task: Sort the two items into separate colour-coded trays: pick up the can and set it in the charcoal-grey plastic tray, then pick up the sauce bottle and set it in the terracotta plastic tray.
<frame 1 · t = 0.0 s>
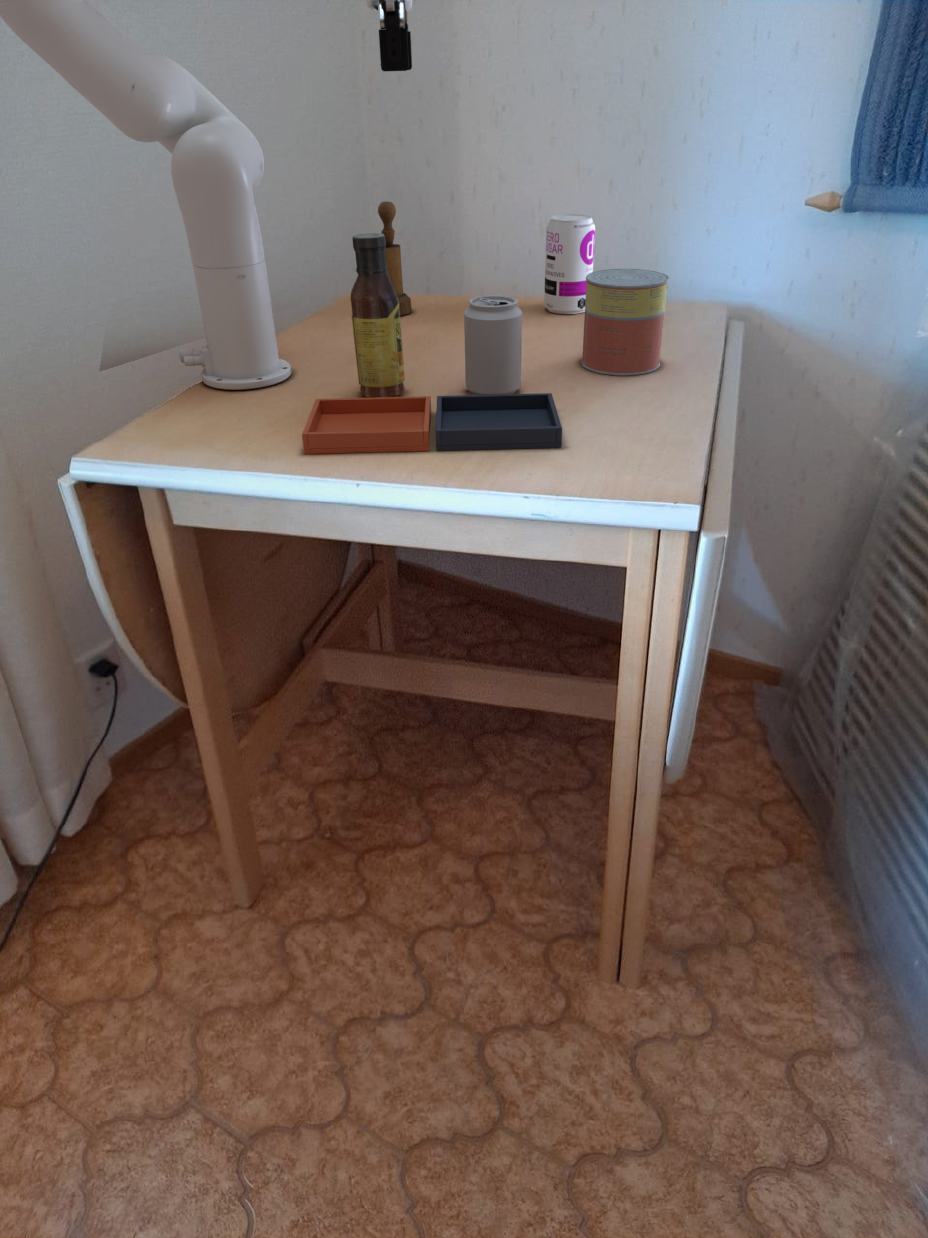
hand: (397, 70, 104), 37 cm above the table, tool pointing down, fingers open, 9 cm apart
terracotta tray: (371, 433, 104), on the table
charcoal tray: (496, 430, 104), on the table
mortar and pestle: (393, 313, 154), on the table
can: (493, 392, 117), on the table
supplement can: (567, 310, 154), on the table
sauce bottle: (382, 395, 117), on the table
canned food: (620, 365, 126), on the table
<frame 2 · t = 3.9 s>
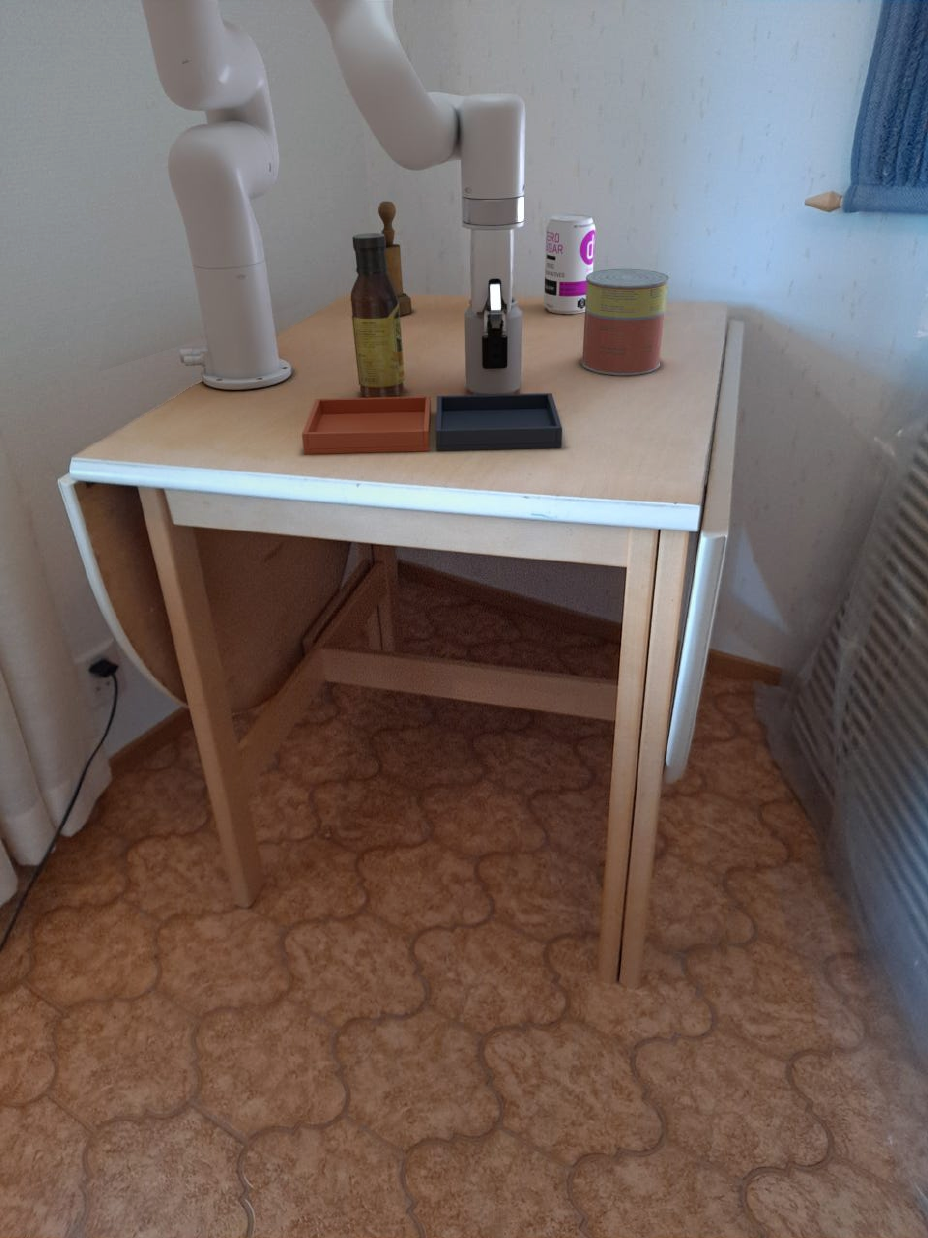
hand: (493, 357, 114), 5 cm above the table, tool pointing down, fingers closed on can, 7 cm apart
can: (493, 392, 117), on the table, touching gripper
everything else where it was.
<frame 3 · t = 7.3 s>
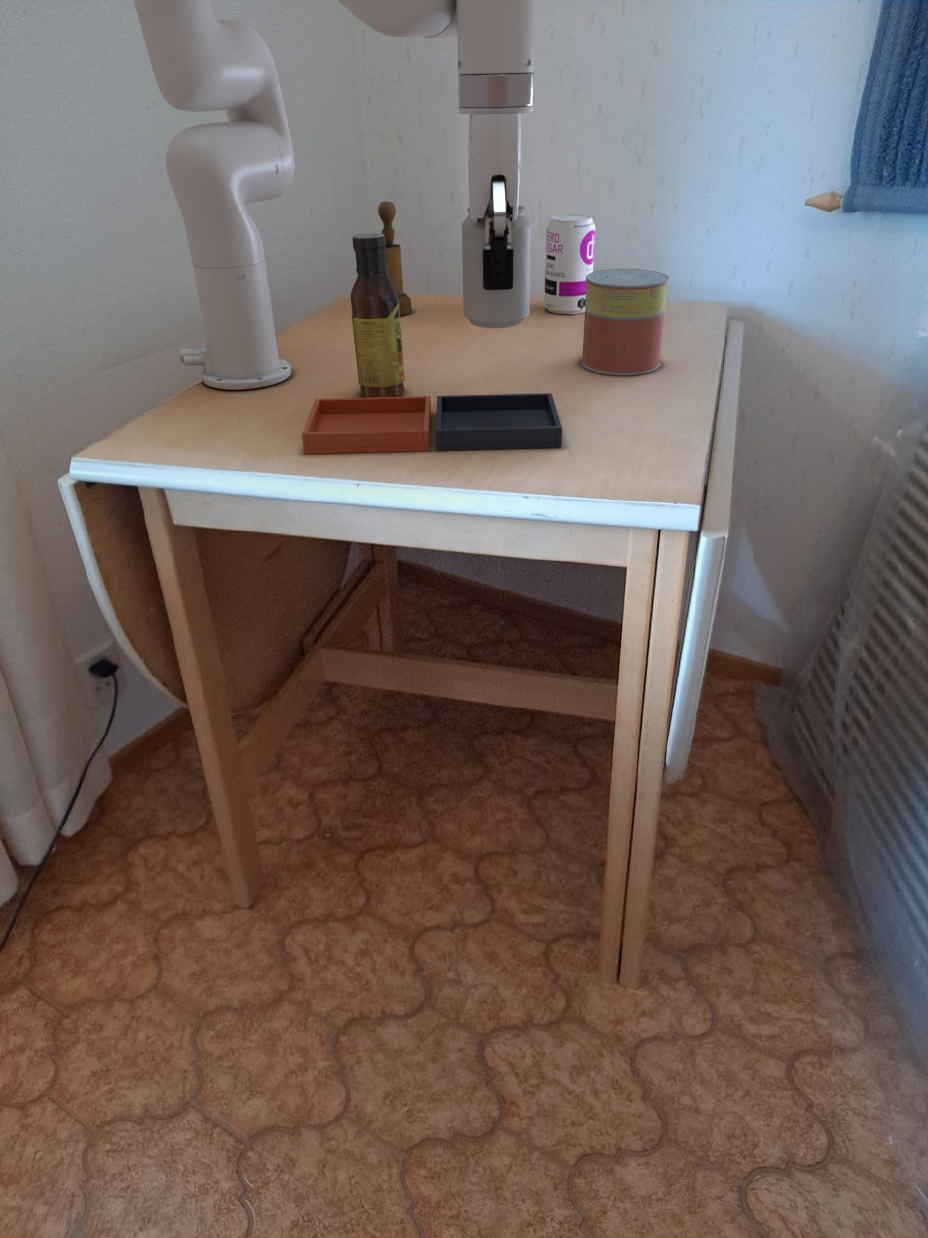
hand: (496, 279, 96), 17 cm above the table, tool pointing down, fingers closed on can, 7 cm apart
can: (496, 323, 99), point 12 cm above the table, touching gripper
everything else where it was.
when the fingers open (5 cm above the table, at t = 10.6 s): can stays where it is, resting on charcoal tray.
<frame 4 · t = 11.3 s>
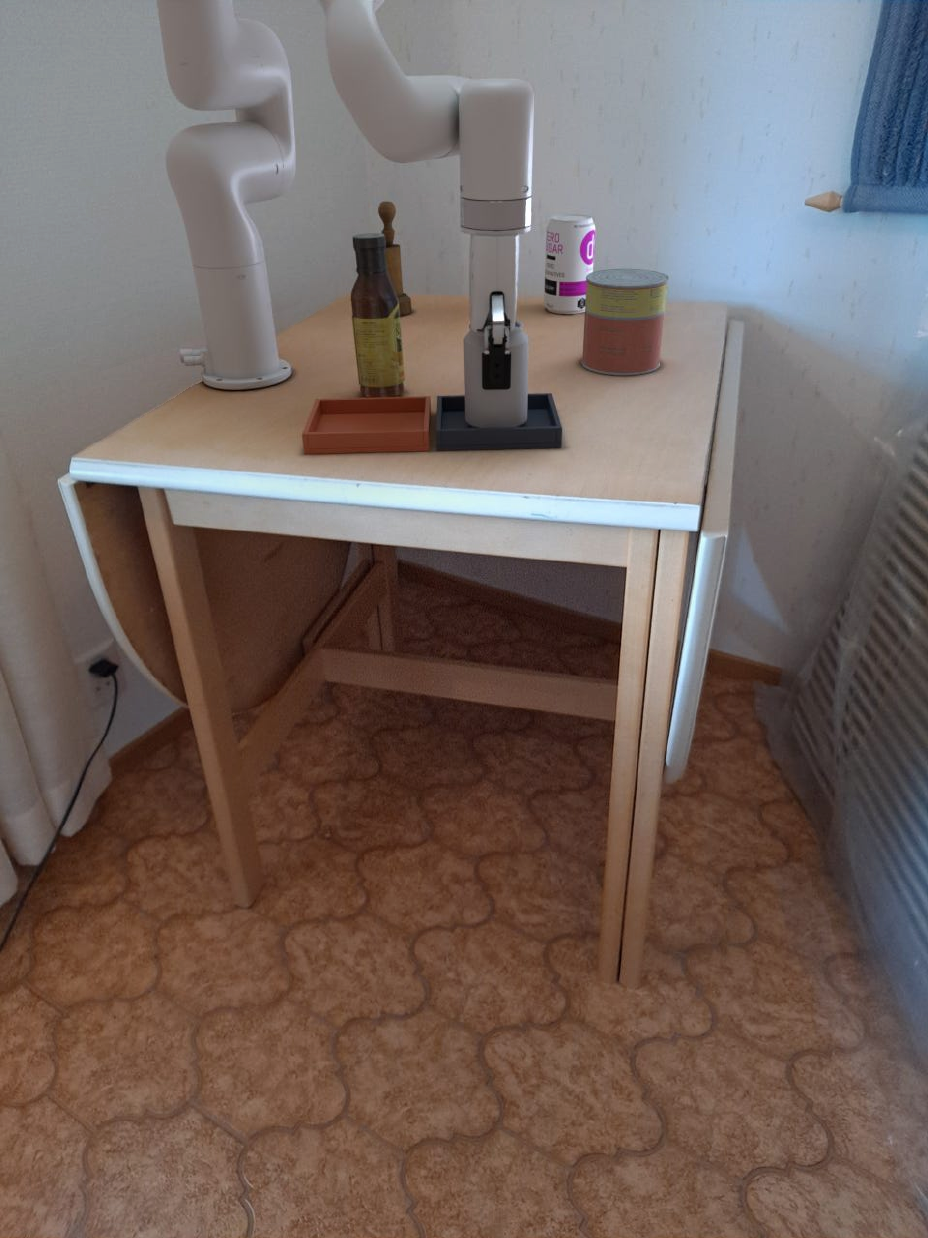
hand: (494, 375, 101), 7 cm above the table, tool pointing down, fingers open, 9 cm apart
can: (496, 426, 104), resting on charcoal tray
everything else where it was.
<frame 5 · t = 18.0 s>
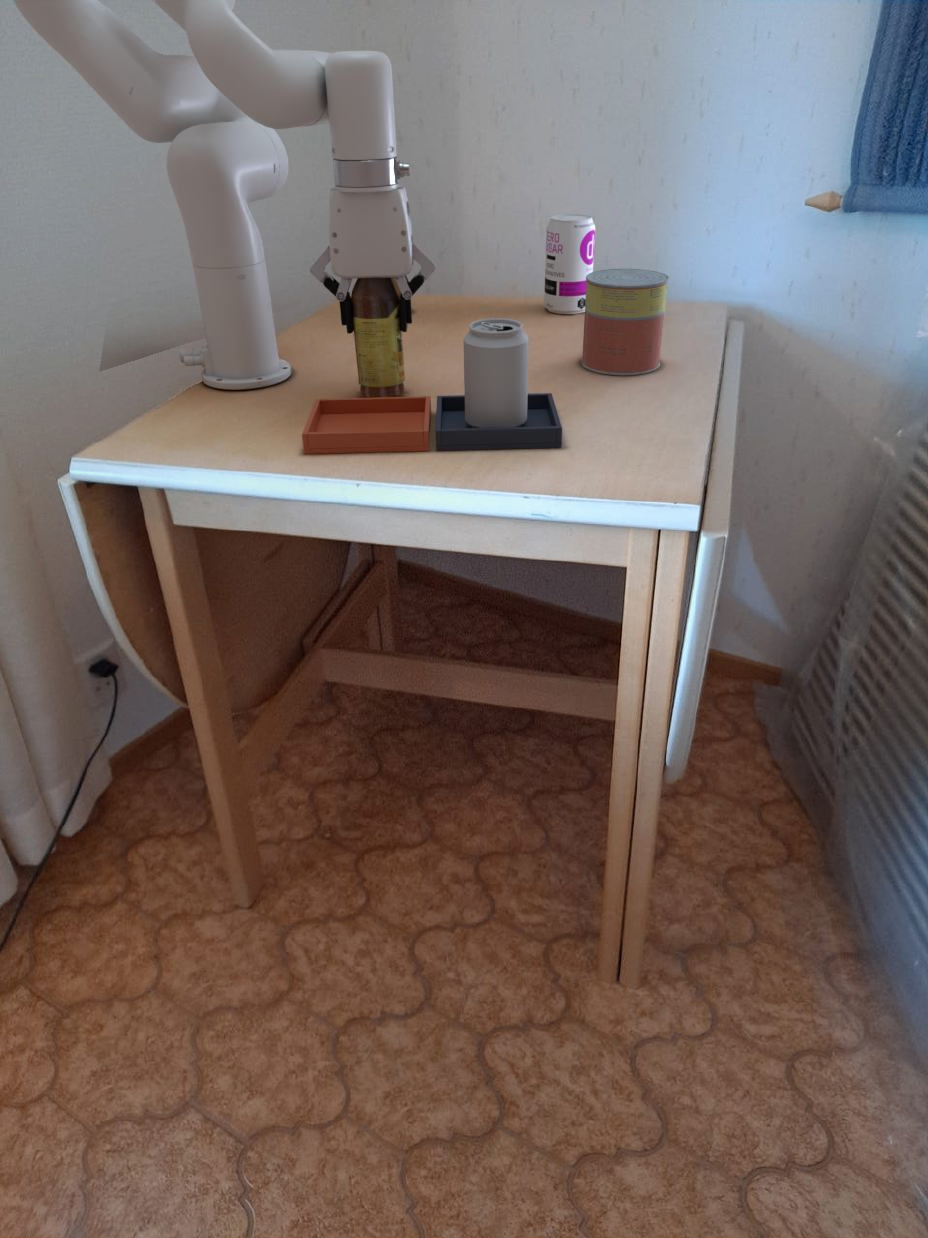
hand: (377, 328, 112), 9 cm above the table, tool pointing down, fingers closed on sauce bottle, 6 cm apart
sauce bottle: (382, 395, 117), on the table, touching gripper
everything else where it was.
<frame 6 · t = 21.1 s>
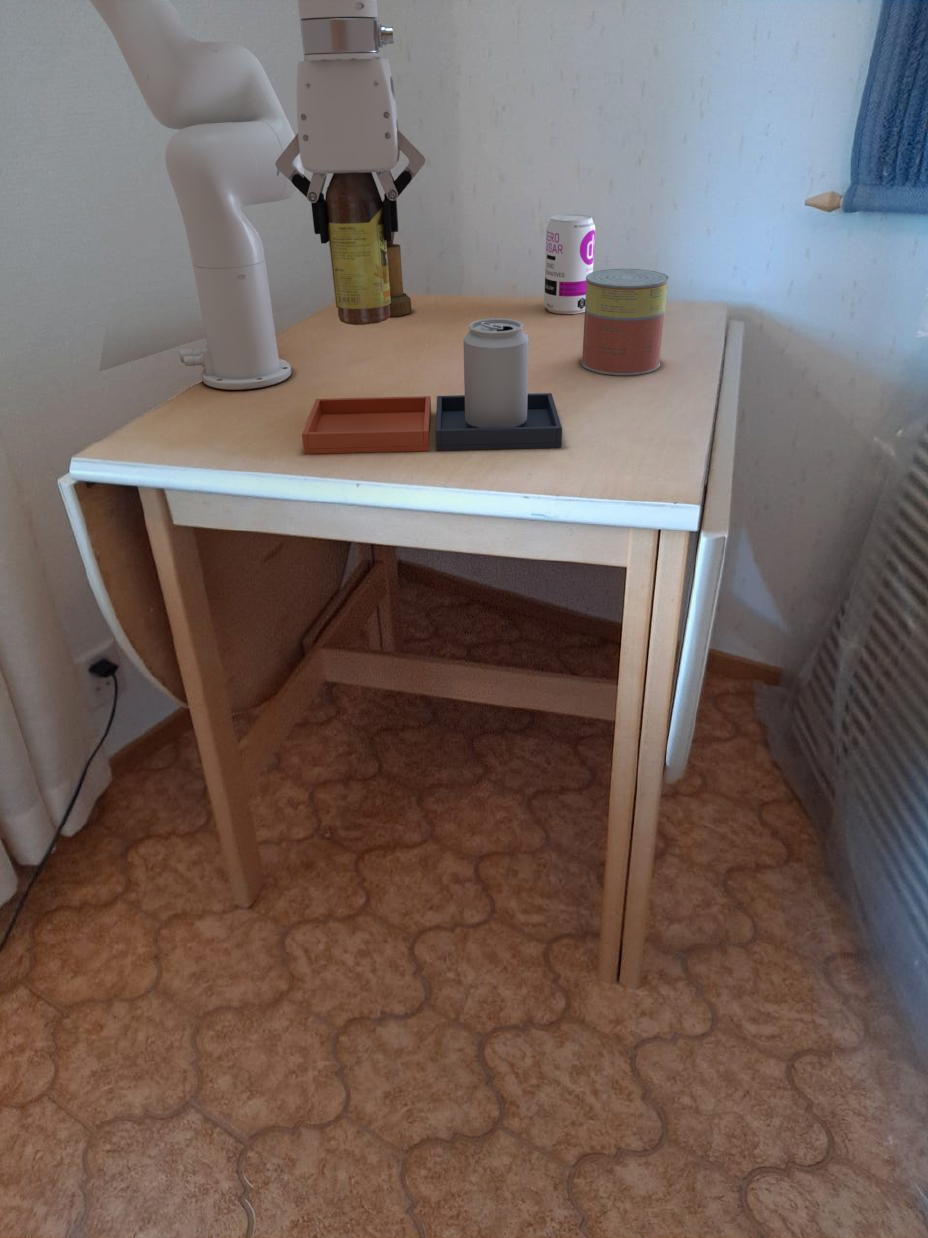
hand: (357, 238, 94), 22 cm above the table, tool pointing down, fingers closed on sauce bottle, 6 cm apart
sauce bottle: (364, 321, 99), point 13 cm above the table, touching gripper
everything else where it was.
when the fingers open (9 cm above the table, at t = 24.5 s): sauce bottle stays where it is, resting on terracotta tray.
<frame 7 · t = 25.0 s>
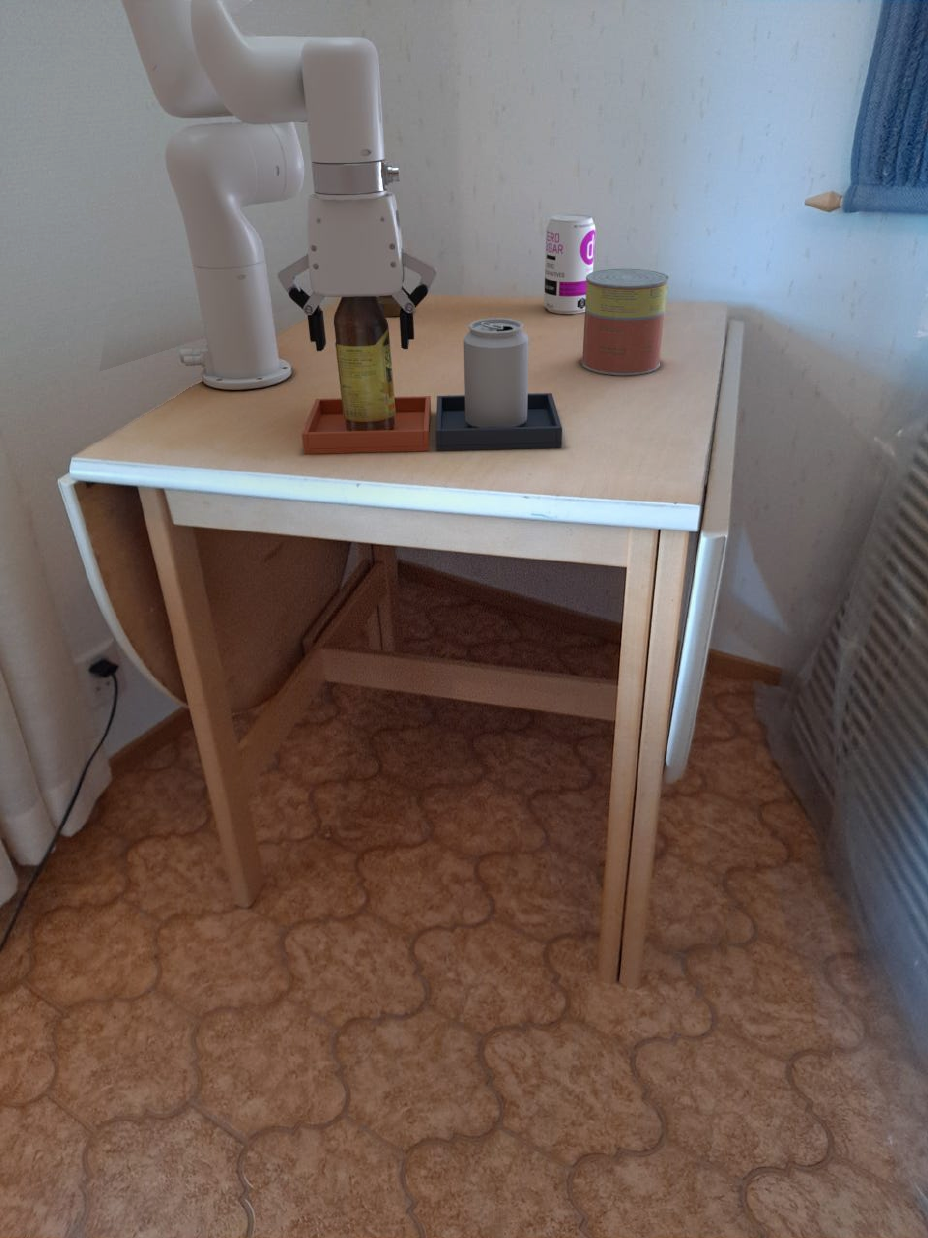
hand: (363, 346, 99), 10 cm above the table, tool pointing down, fingers open, 9 cm apart
sauce bottle: (370, 429, 104), resting on terracotta tray
everything else where it was.
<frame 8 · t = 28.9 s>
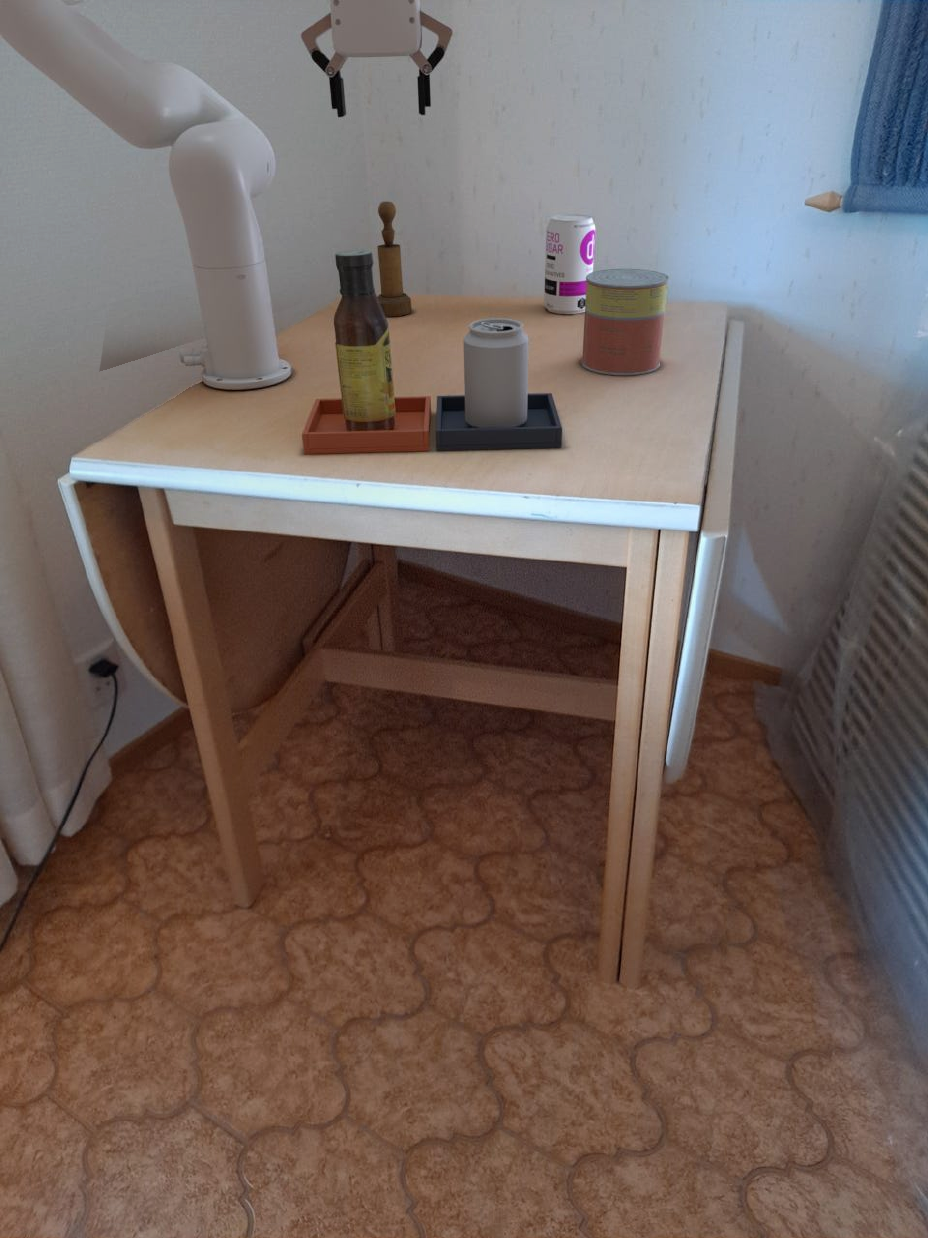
hand: (382, 115, 103), 32 cm above the table, tool pointing down, fingers open, 9 cm apart
nothing on the table moved.
at the end: can inside the target area in the charcoal tray (0.0 cm from its centre), point 0.4 cm above the charcoal tray's base; sauce bottle inside the target area in the terracotta tray (0.0 cm from its centre), point 0.4 cm above the terracotta tray's base; sauce bottle tilted 0° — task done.
